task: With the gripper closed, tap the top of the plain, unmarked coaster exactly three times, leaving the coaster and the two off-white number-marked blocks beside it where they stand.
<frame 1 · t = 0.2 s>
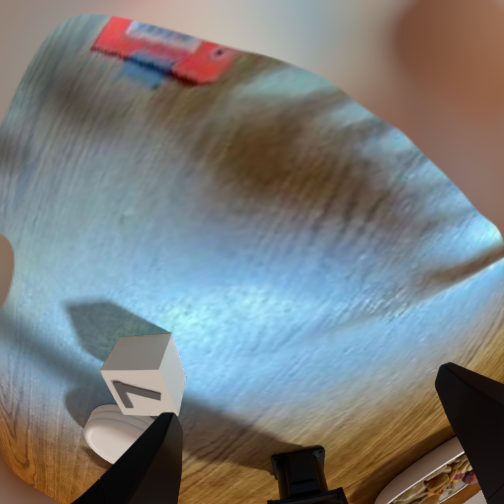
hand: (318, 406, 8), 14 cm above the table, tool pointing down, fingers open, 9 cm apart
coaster: (130, 428, 28), on the table
block seven: (153, 357, 24), on the table
bowl: (437, 467, 37), on the table
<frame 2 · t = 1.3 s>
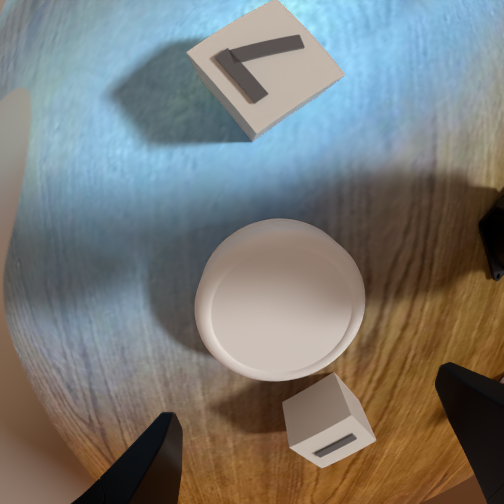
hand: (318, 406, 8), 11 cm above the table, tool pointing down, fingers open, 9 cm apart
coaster: (276, 291, 20), on the table
block seven: (260, 86, 16), on the table
block one: (322, 401, 22), on the table
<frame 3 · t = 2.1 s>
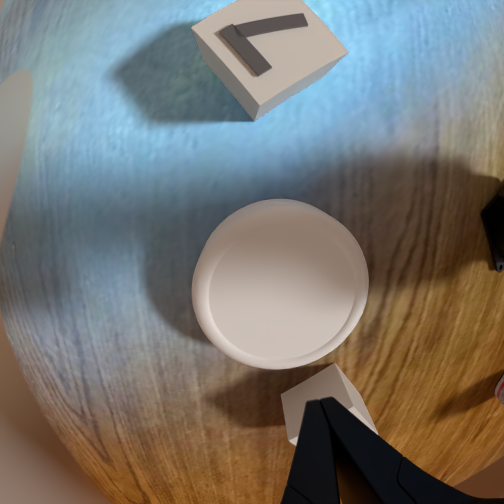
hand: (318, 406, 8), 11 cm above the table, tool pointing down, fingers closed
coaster: (276, 275, 19), on the table
block seven: (262, 67, 15), on the table
block one: (322, 394, 22), on the table
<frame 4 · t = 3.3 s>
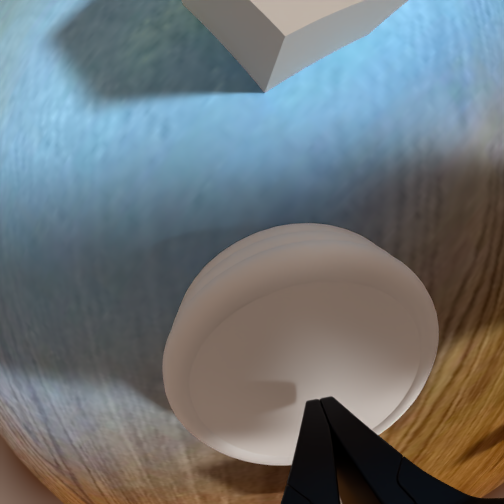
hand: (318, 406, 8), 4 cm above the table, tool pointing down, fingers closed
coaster: (296, 336, 12), on the table
block seven: (277, 12, 8), on the table
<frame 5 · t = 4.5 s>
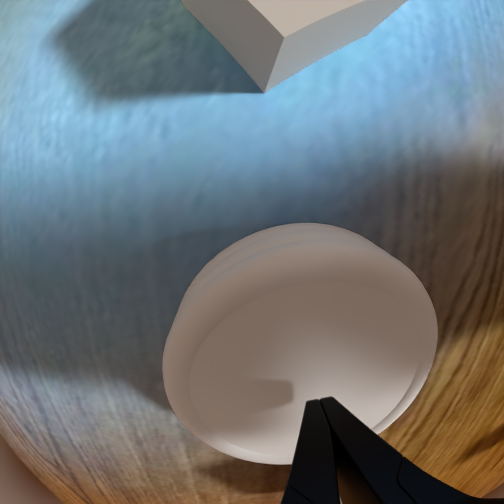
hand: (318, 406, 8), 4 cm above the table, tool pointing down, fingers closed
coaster: (295, 335, 12), on the table
block seven: (276, 13, 8), on the table
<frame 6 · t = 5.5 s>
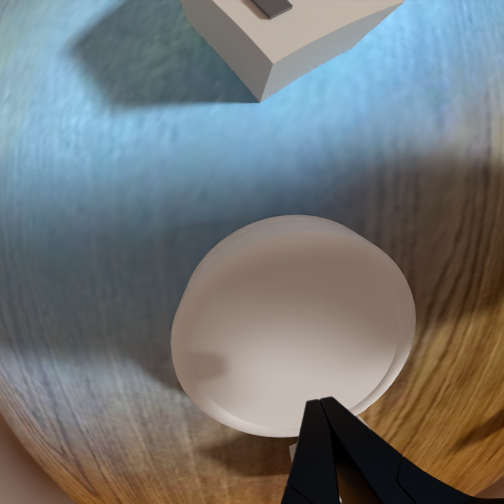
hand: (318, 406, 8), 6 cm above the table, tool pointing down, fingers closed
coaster: (288, 316, 14), on the table
block seven: (271, 30, 10), on the table
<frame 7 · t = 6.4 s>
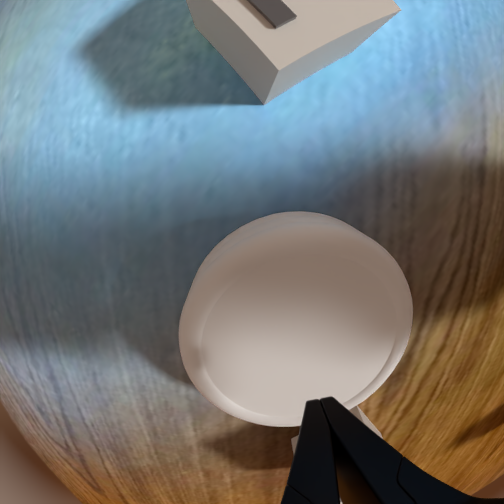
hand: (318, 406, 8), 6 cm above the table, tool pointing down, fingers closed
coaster: (291, 309, 15), on the table
block seven: (274, 35, 10), on the table
block one: (338, 436, 17), on the table
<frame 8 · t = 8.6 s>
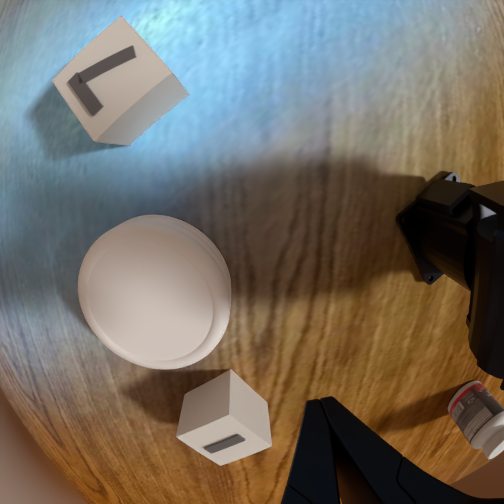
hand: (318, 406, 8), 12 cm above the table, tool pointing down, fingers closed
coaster: (160, 283, 20), on the table
block seven: (137, 93, 16), on the table
pill bottle: (462, 395, 26), on the table
block one: (226, 398, 23), on the table
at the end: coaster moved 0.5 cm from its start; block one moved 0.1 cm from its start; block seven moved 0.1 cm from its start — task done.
